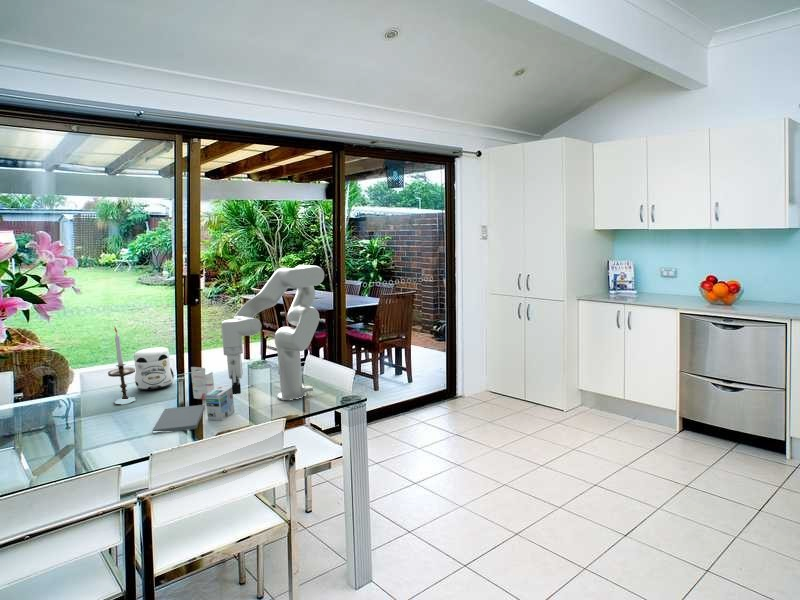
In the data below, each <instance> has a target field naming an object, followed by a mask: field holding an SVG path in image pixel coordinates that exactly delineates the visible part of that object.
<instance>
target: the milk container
mask: <svg viewBox="0 0 800 600" xmlns="http://www.w3.org/2000/svg"><path fill="white" fill-rule="evenodd" d="M133 356H134V357H133V360H134V365H135V375H134V383H135V386H136V388H137V389H139V390H143V391H152V390H153V391H155V390H160V389H164V388H166V387H169V386H170V385H172V384H173V383H174V377H175V376H174V371H173V369H172V365H171V357H170V352H169V348H167V347H150V348H142V349H140V350H137V351H135V352H134V354H133ZM154 389H155V390H154Z"/></svg>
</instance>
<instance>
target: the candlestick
mask: <svg viewBox="0 0 800 600" xmlns="http://www.w3.org/2000/svg"><path fill="white" fill-rule="evenodd" d="M113 328H114V331H115V336H114V343H115V349H116V355H117V356H116V357H117V365H115V367H118V368H115V369H112V370H110V371H108V372H107V374H108V377H113V378H114V377H118V378H119V377H120V385H119V387H120V389H121V390H120V392H121V393H122V397H121V398H122V399H128V398H129V396H128V395H127V392H128V390H127V387H128V384H126V383H125V377H126V376H129V375H131V374H134V373H136V367H135V368H134V367H128V366H127V367H125V366H126V364H125V363H124V361H123V354H122V345H121V339H120V335H119V334H118V330H117V328H116V326H115V325H114V327H113Z"/></svg>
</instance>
